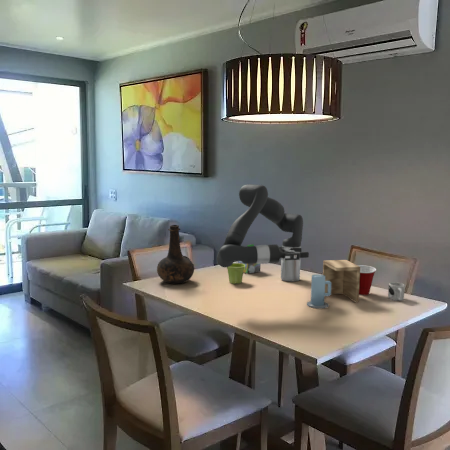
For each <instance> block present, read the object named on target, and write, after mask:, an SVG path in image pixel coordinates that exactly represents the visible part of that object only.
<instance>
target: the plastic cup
mask: <svg viewBox="0 0 450 450" xmlns="http://www.w3.org/2000/svg"><path fill="white" fill-rule="evenodd" d="M358 266H359V267H360V281H359V296H369V295H370V291H371V288H372V283H373V279H374V276H375V274H376V271H377V268H376V267H374V266H370V265H365V264H364V265H363V264H362V265H358Z"/></svg>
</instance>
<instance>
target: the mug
mask: <svg viewBox="0 0 450 450" xmlns="http://www.w3.org/2000/svg"><path fill="white" fill-rule="evenodd" d="M405 287H406V285H405V284H404V283H403V282H398V281H396V282H394V281H393V282H389V283H388V293H387V295H388V296H387V299H388V300H390V301H394V302H402V301H404V300H405V289H406V288H405Z"/></svg>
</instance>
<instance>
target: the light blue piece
mask: <svg viewBox="0 0 450 450" xmlns="http://www.w3.org/2000/svg"><path fill="white" fill-rule="evenodd" d="M325 284H328V293H325ZM310 288H311V289H310V291H311V292H310V301H311V304H312V305H314V306H323V305H324V302H325V299H326V297H330V296H331V295H332V294H331V282H330V281H325V275H323V274H320V273H317V274H312V275H311V287H310Z"/></svg>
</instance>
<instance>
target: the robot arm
mask: <svg viewBox="0 0 450 450" xmlns="http://www.w3.org/2000/svg"><path fill="white" fill-rule="evenodd" d="M238 192H239V193H238V196H239V200H240V202H241V204H243V205H244V206H246V207H248V209H247V210H246V211H244V213H242V214H241V215H240V216H238V217H237V218H236V219H235V220H234V222H232V224H231V226H230V227H229V230H228V232H227V234H226V237H225V240H224V242H223V244H222V246H221V247H220V248H219V250H218V253H217V256H216V262H217V264H218V265H219V266H220V267H222V268H227V267H229V266H231V265H232V264H233V263H235V262H238V261H242V263H244V264H255V263H258V264H262V265H264V264H279V262H280V279H281V281H283V282H284V281H285V282H298V281H300V278H301V259H303V258H305V259H306V258H309V257H310V256H309V255H310V254H309V251H302V239H303V229H304V228H303V227H304V219H303V216H302V215H301V214H298V213H297V214H296V213H288V212H287V213H285V211H286V210H285V207H284V205H282V204H281V203H280V202H279V201H278V200H277V199H274V198H272V197H270V196H269V193H268V192H269V191H268V188H267V187H266V185H262V184H249V183H248V184H244V185H242V186H241V188H240V189H239V191H238ZM259 214H260V215H262V216H263V217H264V218H266V219H267V220H269V221H270V222H272V223H273V224H275V225H276V226H277V227H278V228H279V230H281V231H283V232H285V233H292V235H291V237H288V238H284V239H283V240H282V244H281V245H282V246H279V245H278V244H260V245H254V246H247V245H246V246H244V245H242V244H243V243H244V240H245V238H246V236H247V234H248V231H249V230H250V227H251V226H252V224H253V223H254V221H255V220H256V219H257V217H258V215H259Z"/></svg>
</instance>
